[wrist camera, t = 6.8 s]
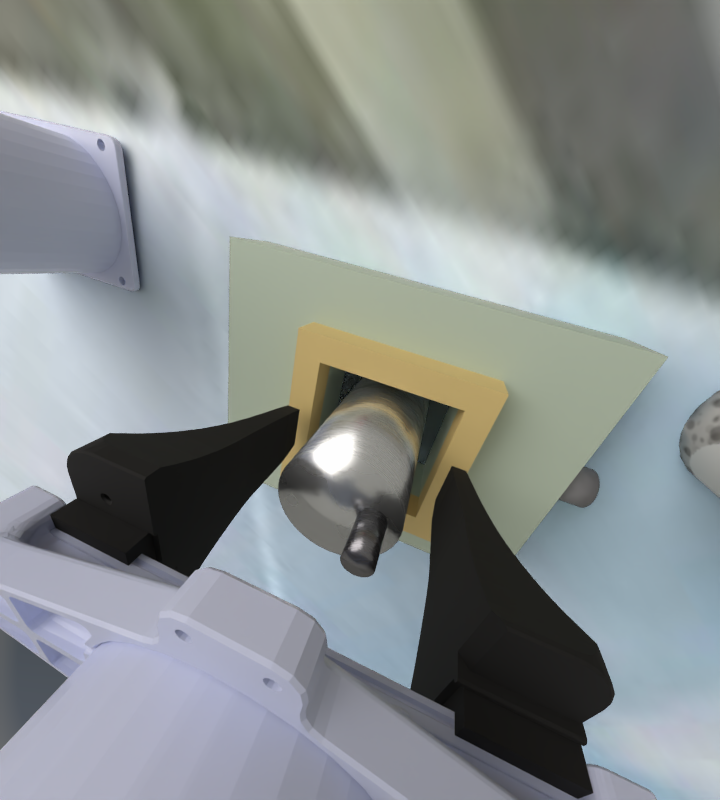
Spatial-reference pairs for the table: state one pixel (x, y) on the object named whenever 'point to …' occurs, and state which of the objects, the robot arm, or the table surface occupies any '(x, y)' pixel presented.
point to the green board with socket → (433, 377)
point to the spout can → (357, 474)
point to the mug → (703, 443)
